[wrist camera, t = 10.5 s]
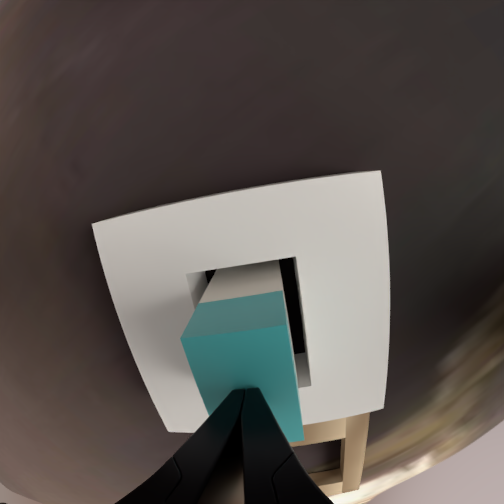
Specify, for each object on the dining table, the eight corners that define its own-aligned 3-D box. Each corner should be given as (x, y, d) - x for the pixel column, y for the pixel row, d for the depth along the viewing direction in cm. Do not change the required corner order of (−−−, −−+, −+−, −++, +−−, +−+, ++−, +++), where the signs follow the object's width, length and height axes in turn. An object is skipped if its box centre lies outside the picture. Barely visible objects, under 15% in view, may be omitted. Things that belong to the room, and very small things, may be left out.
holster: (364, 395, 16) (369, 410, 15) (355, 477, 19) (358, 489, 17) (249, 413, 17) (248, 429, 16) (272, 489, 20) (272, 502, 18)
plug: (277, 256, 14) (286, 324, 8) (292, 343, 16) (304, 440, 9) (218, 266, 15) (180, 338, 8) (238, 351, 16) (222, 447, 9)
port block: (358, 171, 13) (380, 170, 10) (369, 376, 16) (383, 408, 13) (122, 214, 14) (91, 224, 11) (180, 400, 17) (168, 431, 14)
